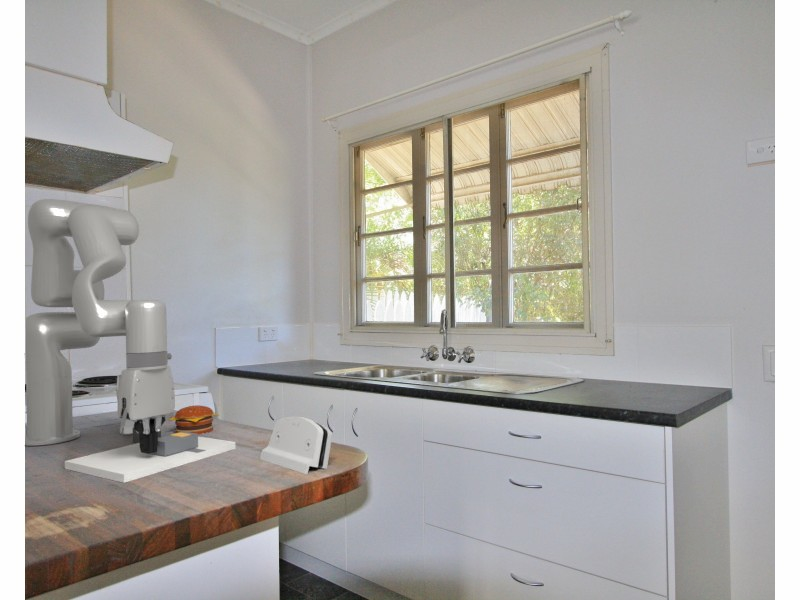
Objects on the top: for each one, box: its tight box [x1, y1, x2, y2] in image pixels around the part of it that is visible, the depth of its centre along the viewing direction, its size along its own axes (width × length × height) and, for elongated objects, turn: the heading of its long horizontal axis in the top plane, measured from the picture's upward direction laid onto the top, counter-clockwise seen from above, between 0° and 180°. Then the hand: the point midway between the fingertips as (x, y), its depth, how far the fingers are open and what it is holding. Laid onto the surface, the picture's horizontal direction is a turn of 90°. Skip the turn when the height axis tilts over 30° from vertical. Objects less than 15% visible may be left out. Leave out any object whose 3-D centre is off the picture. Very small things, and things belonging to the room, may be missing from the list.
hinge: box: [259, 416, 333, 475], centre depth 108 cm, size 17×5×10 cm, turn 45°
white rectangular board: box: [64, 436, 236, 484], centre depth 114 cm, size 20×26×2 cm
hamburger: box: [167, 404, 220, 435], centre depth 139 cm, size 9×10×7 cm
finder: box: [151, 432, 199, 456], centre depth 113 cm, size 5×8×3 cm, turn 149°
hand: (148, 452), depth 108 cm, fingers closed
